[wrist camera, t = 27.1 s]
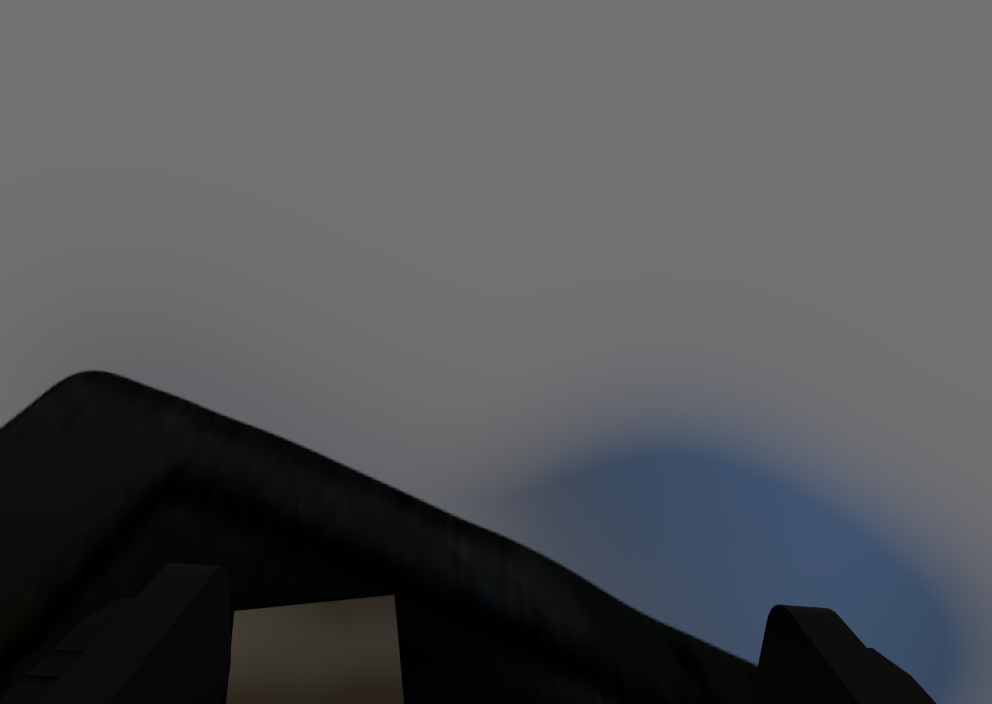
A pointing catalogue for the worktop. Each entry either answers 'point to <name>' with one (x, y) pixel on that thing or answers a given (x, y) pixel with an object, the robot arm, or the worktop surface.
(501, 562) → the worktop surface
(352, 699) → the paddle
